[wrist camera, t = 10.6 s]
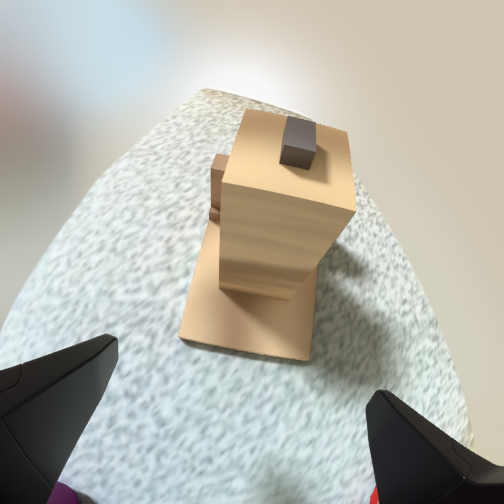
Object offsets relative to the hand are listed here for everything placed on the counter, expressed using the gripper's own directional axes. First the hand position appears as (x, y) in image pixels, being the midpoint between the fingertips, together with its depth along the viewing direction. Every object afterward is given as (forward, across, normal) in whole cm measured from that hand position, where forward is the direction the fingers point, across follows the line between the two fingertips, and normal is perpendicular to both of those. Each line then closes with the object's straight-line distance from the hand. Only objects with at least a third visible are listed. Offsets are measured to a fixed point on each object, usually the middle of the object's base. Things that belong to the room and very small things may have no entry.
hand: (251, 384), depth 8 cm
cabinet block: (+13, 0, 0) cm, 13 cm away
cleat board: (+13, 0, +1) cm, 13 cm away
